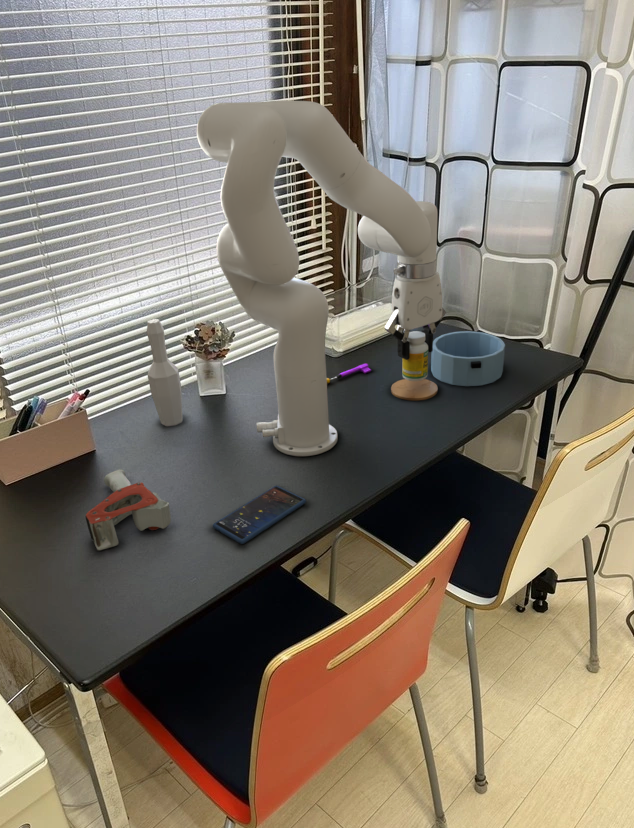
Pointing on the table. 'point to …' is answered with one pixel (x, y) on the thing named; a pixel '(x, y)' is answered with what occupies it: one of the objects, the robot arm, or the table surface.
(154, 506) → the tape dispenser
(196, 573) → the table surface
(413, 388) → the coaster
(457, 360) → the bowl
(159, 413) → the faceted bottle
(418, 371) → the supplement bottle
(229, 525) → the smartphone
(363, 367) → the pneumatic cylinder
